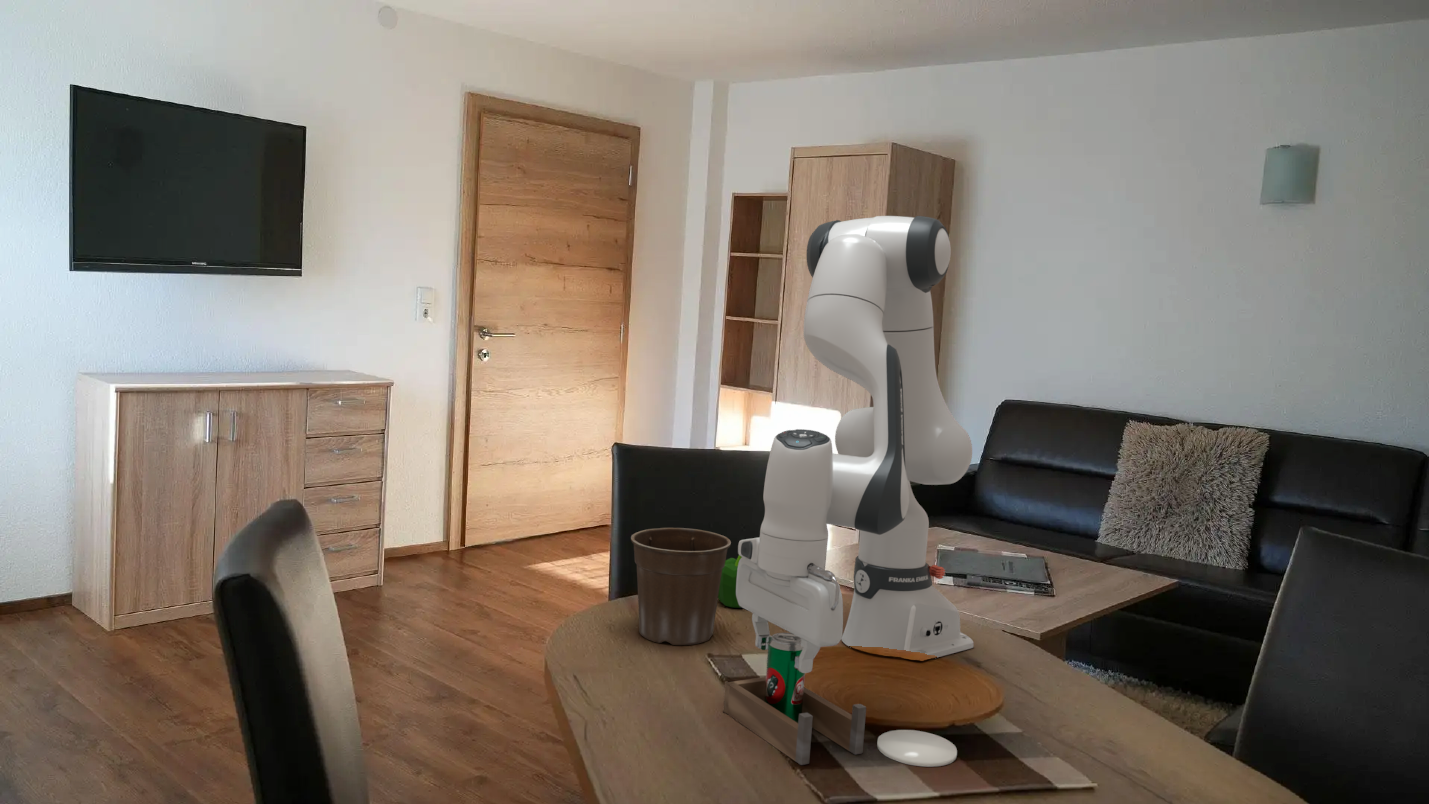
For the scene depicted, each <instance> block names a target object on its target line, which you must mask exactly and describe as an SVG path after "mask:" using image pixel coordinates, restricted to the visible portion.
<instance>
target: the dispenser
mask: <svg viewBox="0 0 1429 804" xmlns="http://www.w3.org/2000/svg"><path fill="white" fill-rule="evenodd" d="M765 684H766V676H762V677H754V678H748V679H741V680H735V681H729V682H728V681H727V682H724V696H723V697H724V698H723V710H722V711H723V712H724V713H726V714H727V715H728V716H730V717H731V718H732V719H734V720H735V721H737V722H738V723H739V724H741V725H742V726H744V727H746V728H747V729H748V730H750V731H751V732H753V733H755V735H757V736H758V737H759V738H761V739H762V740H764V741H766V742H767V743H768V744H770V745H772V746H773V747H774V748H775V749H777V750H779V751H780V752H781V753H783V754H784V755H786V756H787V757H789V758H790V759H791V760H793V761H794V762H796V763H798V765H799V766H804V765H808V764H809V765H810V756H811V741H812V733H813V732H812V731H813V729H814V730H816V731H817V732H818V733H820V734H821V735H823V736H824V737H826V738H828V739H829V740H831V741H832V742H834V743H836V744H837V745H839V746H840V747H842V748H844V749H845V750H847V751H848V752H850V753H852V754H853V755H860V754H863V752H864V751H863V750H864V739H865V727H866V725H865V724H866V717H867V715H866V714H867V706H865V705H863V704H861V703H855V704H852V709H851V711H852V712H851V713H849V711H846V710H844V709H843V708H841V707H840V706H838V705H836V704H834V703H833V702H832V701H831V702H830V701H829V700H827V699H825V698H824V697H823V696H821V695H819V694H818V693H816V692H814V691H813V690H810V689H809V688H807V687H806V686H804V693H803V706H802V713H801V714H799V720H798V723H797V722H795V721H794V720H792V719H791V718H789V717H787V716H786V715H784V714H783V713H781V712H780V711H778V710H777V709H775V708H773V707H772V706H770V705H769V704H767V703H766V702H764V698H765Z"/></svg>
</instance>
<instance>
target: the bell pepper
mask: <svg viewBox="0 0 1429 804" xmlns="http://www.w3.org/2000/svg"><path fill="white" fill-rule="evenodd" d="M741 558H742V557H741V556H740V555H739V554H738V556H737V558H734V557H730V558H727V559H726V560H725V566H724V568H722V574H721V580H720V587H719V593H718V601H719V602H720V603H721V604H723V605H724V606H725V607H729V608H739V609H740V608H742V607H741V606H739V604H738V601H737V597H736V580H737V569H738V563H739V560H740V559H741Z"/></svg>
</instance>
